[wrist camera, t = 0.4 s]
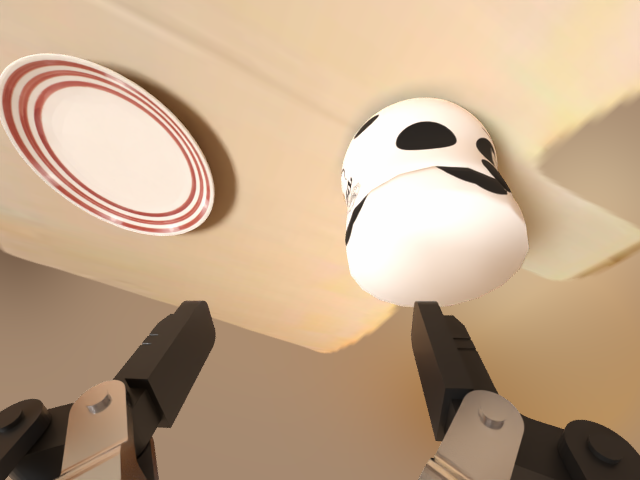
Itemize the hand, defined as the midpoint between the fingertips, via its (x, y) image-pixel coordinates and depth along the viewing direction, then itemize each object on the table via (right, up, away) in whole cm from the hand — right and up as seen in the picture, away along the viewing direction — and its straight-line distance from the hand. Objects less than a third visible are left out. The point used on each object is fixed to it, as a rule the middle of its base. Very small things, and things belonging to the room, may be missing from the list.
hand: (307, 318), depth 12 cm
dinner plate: (-28, +15, +32) cm, 45 cm away
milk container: (+12, +14, +28) cm, 33 cm away
